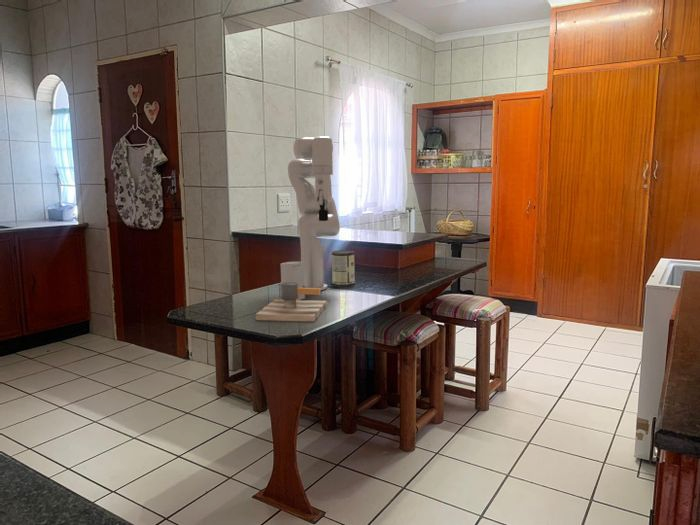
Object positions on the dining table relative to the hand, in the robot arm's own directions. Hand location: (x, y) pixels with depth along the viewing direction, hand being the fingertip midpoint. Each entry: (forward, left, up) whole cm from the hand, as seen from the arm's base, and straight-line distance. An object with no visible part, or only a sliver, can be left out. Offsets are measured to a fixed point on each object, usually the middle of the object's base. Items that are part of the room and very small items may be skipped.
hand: (323, 220), depth 203 cm
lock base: (+18, -9, -31) cm, 37 cm away
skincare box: (-2, -13, -31) cm, 34 cm away
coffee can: (-38, +1, -31) cm, 49 cm away
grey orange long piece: (+18, -5, -26) cm, 32 cm away
